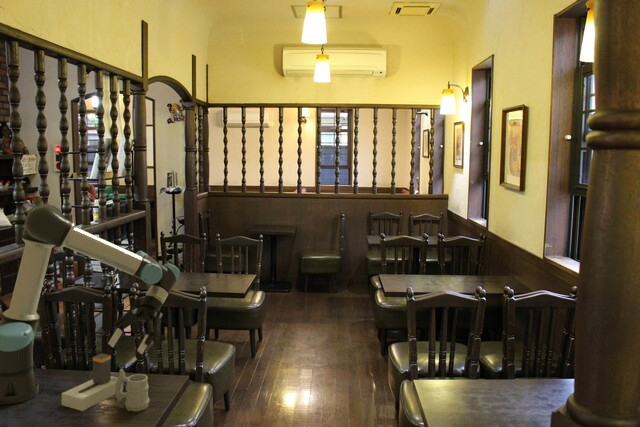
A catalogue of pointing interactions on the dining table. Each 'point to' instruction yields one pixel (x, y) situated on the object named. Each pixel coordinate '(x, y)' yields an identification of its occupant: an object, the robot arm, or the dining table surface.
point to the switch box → (89, 394)
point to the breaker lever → (101, 368)
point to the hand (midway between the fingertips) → (124, 348)
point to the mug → (133, 391)
